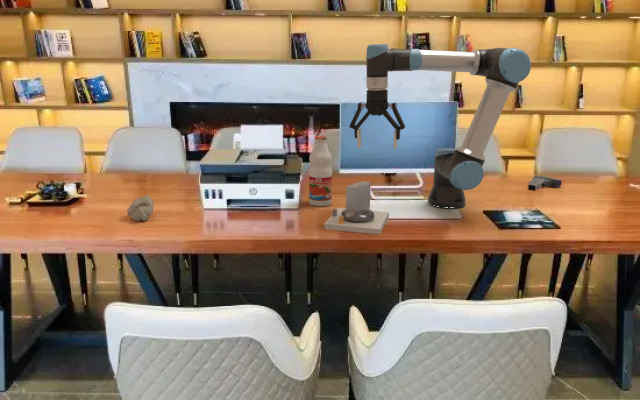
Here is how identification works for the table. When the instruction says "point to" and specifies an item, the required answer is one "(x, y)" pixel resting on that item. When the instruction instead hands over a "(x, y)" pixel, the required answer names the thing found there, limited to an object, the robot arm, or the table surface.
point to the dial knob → (358, 203)
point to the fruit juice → (320, 173)
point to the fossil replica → (141, 208)
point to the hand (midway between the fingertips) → (377, 147)
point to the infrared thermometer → (543, 182)
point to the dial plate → (356, 223)
